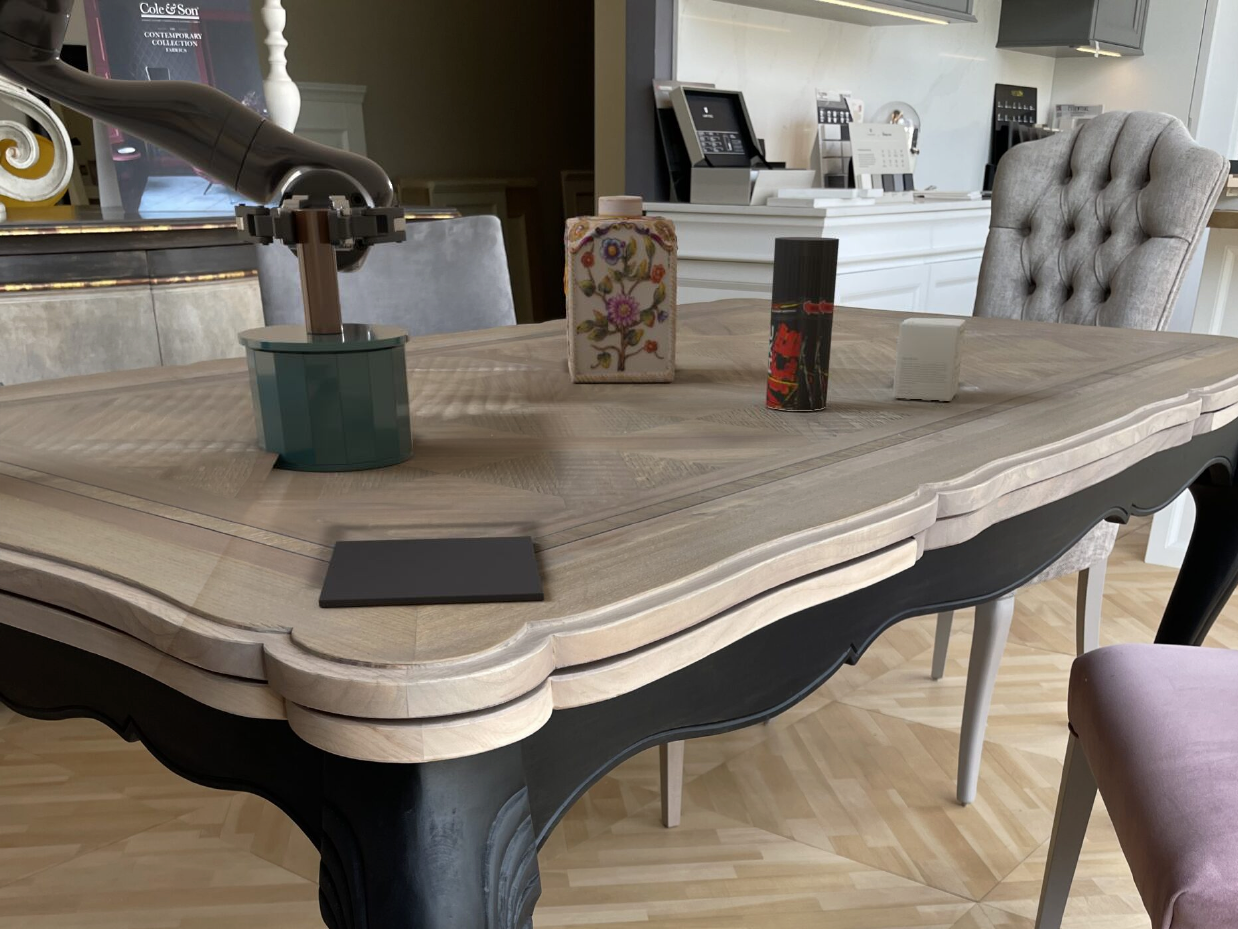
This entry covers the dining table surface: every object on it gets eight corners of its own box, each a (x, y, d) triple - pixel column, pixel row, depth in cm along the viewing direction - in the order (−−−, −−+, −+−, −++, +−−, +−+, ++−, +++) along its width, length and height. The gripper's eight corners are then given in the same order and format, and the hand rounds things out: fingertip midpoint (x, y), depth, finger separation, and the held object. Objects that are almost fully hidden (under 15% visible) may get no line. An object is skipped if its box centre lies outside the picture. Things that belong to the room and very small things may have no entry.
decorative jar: (666, 368, 146) (670, 195, 138) (676, 383, 136) (681, 198, 127) (564, 368, 146) (561, 194, 137) (567, 384, 135) (564, 197, 127)
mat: (319, 607, 66) (318, 600, 66) (336, 547, 77) (335, 541, 77) (543, 600, 68) (543, 593, 68) (531, 542, 78) (530, 536, 78)
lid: (227, 361, 91) (206, 211, 86) (252, 339, 102) (234, 206, 97) (408, 359, 92) (397, 212, 88) (413, 338, 103) (403, 207, 99)
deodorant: (837, 409, 122) (851, 240, 115) (784, 413, 120) (795, 240, 113) (806, 400, 127) (817, 236, 120) (754, 404, 125) (763, 237, 118)
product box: (951, 403, 126) (960, 325, 123) (890, 399, 128) (898, 322, 124) (957, 394, 131) (967, 319, 128) (899, 390, 133) (907, 316, 130)
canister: (251, 473, 95) (235, 354, 91) (271, 442, 105) (257, 335, 101) (411, 470, 96) (402, 353, 92) (414, 440, 107) (406, 333, 103)
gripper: (238, 168, 103) (202, 169, 88) (410, 170, 104) (403, 171, 89) (250, 268, 106) (218, 285, 91) (417, 268, 108) (412, 285, 93)
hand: (310, 229), depth 90 cm, fingers closed on lid, 3 cm apart
